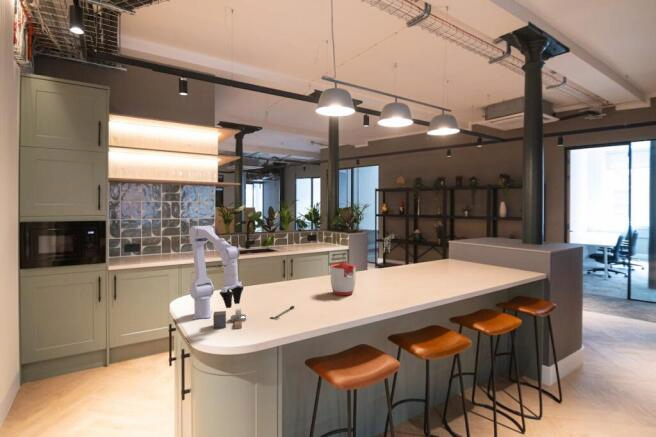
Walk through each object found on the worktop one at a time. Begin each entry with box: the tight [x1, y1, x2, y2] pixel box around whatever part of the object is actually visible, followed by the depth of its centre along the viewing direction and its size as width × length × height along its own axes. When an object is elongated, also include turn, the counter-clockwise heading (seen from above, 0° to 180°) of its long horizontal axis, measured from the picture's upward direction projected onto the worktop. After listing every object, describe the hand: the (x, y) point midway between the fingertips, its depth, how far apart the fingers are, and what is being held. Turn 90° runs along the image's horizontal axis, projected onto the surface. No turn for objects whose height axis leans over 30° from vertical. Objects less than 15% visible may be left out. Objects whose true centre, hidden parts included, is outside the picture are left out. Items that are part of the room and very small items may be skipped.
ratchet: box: [230, 308, 247, 330], centre depth 166 cm, size 16×7×5 cm, turn 14°
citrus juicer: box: [330, 260, 357, 296], centre depth 219 cm, size 16×17×20 cm
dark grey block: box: [212, 310, 227, 330], centre depth 161 cm, size 5×5×6 cm
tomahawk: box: [269, 305, 295, 321], centre depth 180 cm, size 21×7×1 cm, turn 156°
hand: (232, 305), depth 158 cm, fingers open, 7 cm apart
